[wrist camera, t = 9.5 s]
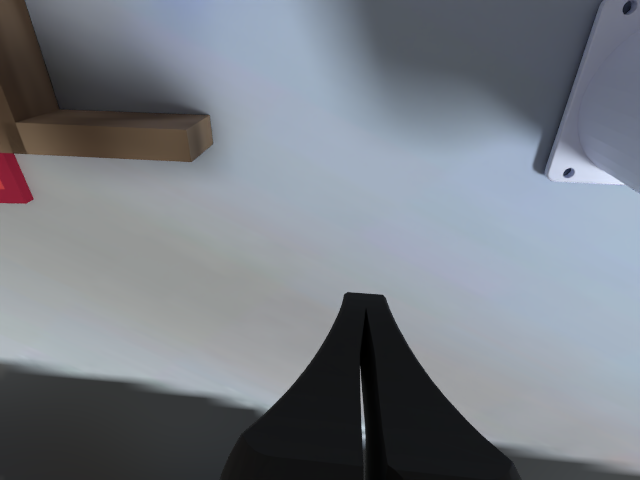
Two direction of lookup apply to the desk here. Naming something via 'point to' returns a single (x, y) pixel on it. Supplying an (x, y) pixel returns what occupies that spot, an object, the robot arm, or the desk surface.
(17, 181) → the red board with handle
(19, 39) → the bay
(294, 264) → the desk surface
